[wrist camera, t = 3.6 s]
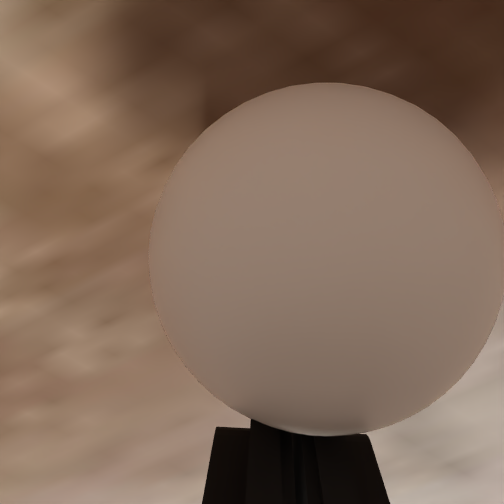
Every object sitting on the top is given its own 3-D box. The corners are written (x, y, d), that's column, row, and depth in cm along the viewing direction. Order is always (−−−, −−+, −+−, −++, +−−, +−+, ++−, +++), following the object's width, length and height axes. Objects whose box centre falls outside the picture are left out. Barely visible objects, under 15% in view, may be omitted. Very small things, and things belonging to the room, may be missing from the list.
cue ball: (473, 243, 10) (721, 357, 4) (287, 379, 11) (303, 607, 5) (324, 46, 9) (404, -109, 4) (138, 214, 10) (-19, 290, 5)
